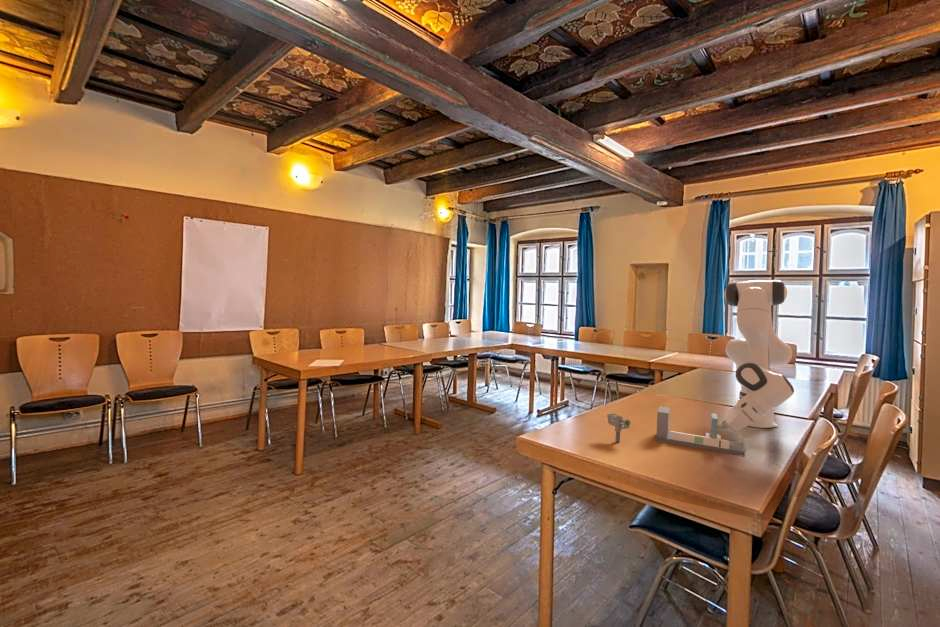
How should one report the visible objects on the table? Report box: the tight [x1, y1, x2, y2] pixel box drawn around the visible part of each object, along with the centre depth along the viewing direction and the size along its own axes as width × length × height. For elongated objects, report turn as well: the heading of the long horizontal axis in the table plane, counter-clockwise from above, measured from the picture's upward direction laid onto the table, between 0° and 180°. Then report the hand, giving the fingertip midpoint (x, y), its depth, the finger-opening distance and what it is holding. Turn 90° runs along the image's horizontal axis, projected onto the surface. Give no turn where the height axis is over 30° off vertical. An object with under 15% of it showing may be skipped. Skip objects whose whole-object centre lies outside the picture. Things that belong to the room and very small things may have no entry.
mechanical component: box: [606, 413, 631, 444], centre depth 170 cm, size 3×10×10 cm, turn 27°
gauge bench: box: [655, 406, 746, 457], centre depth 171 cm, size 12×30×12 cm, turn 62°
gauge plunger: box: [705, 412, 722, 439], centre depth 168 cm, size 10×5×10 cm, turn 152°
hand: (718, 429), depth 168 cm, fingers closed, pressing on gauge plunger
